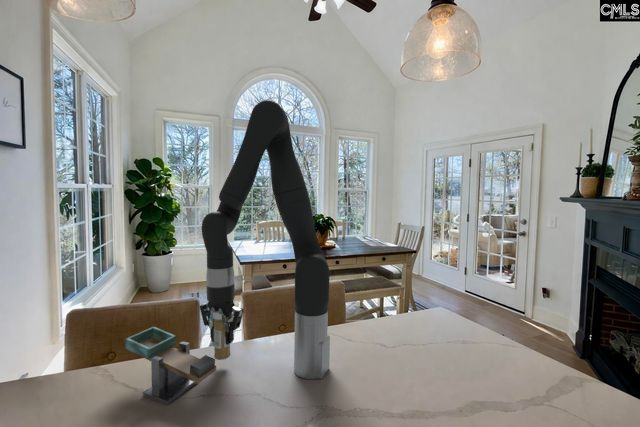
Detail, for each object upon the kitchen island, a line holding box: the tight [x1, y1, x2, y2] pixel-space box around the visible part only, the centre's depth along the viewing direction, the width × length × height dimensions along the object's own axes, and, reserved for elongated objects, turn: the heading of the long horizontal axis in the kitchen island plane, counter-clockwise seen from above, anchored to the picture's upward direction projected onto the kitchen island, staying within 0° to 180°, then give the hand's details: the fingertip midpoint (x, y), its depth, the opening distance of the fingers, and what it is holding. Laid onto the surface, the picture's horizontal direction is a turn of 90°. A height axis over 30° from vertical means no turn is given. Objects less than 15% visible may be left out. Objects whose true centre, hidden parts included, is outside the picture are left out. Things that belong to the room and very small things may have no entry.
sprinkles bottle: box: [213, 311, 231, 361], centre depth 90 cm, size 5×5×14 cm
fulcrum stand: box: [142, 341, 197, 406], centre depth 80 cm, size 8×10×10 cm
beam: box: [124, 326, 217, 385], centre depth 80 cm, size 23×8×4 cm, turn 68°
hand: (222, 341), depth 91 cm, fingers closed on sprinkles bottle, 4 cm apart
